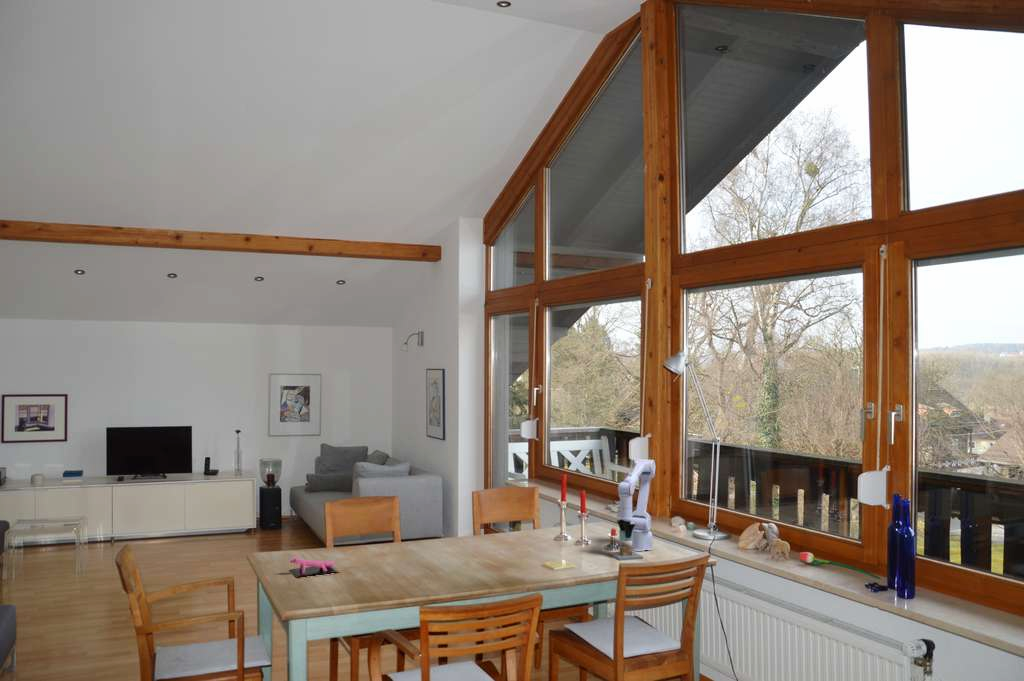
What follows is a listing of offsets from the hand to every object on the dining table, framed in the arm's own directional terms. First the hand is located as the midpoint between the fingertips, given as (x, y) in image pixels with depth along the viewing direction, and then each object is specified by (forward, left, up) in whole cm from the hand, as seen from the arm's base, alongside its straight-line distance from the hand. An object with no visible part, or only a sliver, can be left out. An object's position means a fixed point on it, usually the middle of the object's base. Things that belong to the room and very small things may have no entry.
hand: (626, 536), depth 389 cm
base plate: (0, 0, -9) cm, 9 cm away
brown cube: (0, 0, -8) cm, 8 cm away
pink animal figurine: (+143, -11, -10) cm, 144 cm away
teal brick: (0, 0, -2) cm, 2 cm away
